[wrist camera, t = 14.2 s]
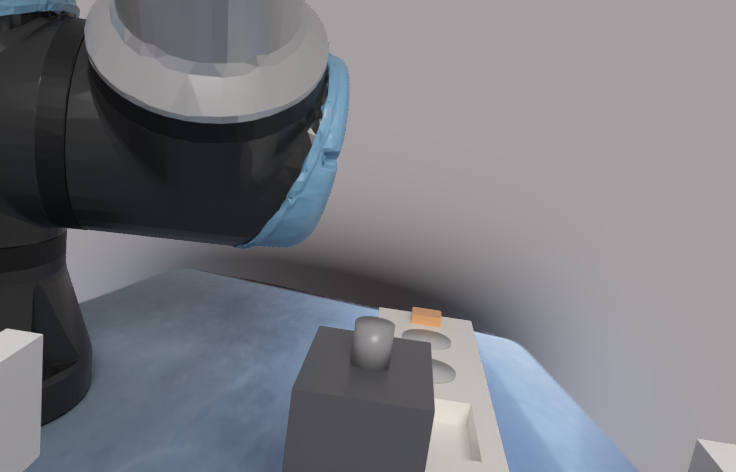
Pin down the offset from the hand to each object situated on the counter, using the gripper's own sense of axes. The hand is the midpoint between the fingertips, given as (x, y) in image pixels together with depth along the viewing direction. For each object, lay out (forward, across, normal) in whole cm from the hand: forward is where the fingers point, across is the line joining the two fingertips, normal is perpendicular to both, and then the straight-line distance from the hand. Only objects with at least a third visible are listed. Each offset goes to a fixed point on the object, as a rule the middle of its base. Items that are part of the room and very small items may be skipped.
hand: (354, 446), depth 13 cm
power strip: (+30, +4, -14) cm, 33 cm away
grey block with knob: (+10, 0, -14) cm, 17 cm away
